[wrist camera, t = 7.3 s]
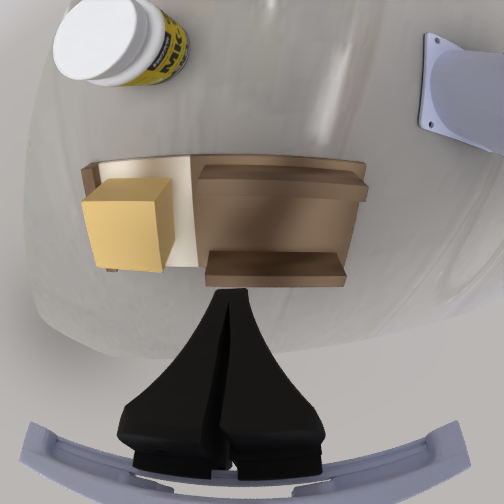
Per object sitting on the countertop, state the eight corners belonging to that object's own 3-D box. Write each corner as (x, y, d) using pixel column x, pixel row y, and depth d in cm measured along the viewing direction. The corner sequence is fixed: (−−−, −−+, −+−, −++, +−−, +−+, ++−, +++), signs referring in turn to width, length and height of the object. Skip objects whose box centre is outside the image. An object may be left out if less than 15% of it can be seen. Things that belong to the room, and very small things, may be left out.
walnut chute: (363, 162, 18) (384, 179, 15) (342, 264, 23) (353, 292, 20) (90, 163, 17) (66, 179, 14) (113, 261, 22) (98, 287, 19)
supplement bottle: (189, 82, 15) (142, 81, 8) (122, 88, 14) (44, 101, 7) (193, 17, 12) (152, -29, 5) (125, 26, 12) (51, 4, 5)
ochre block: (171, 177, 18) (154, 201, 14) (175, 240, 21) (162, 272, 17) (108, 178, 17) (81, 201, 14) (117, 237, 20) (97, 267, 17)
